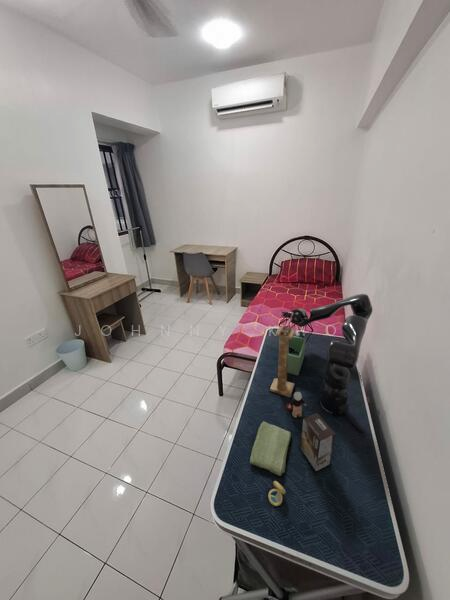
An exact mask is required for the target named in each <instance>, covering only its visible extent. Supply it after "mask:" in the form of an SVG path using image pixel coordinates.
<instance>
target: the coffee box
mask: <svg viewBox="0 0 450 600" xmlns="http://www.w3.org/2000/svg"><path fill="white" fill-rule="evenodd" d="M335 436H336V432H335V431H334V430H333V429H332V428H331V427H330V426H329V425H328V423H326V421H325V420H324V419H323V417H322V416H321V415H320V414H319V413H318V412H316V413H313V414H311V415H309V416H307V417H306V418H303V421H302V430H301V439H300V450H301V451H302V453H303V455H304V456H305V457H306V459H307V460H308V462H309V463H310V465H311V466H312V468H313V469H314V470H315V472H317V471H320V470H321V469H323V468H326V467H327V466H329V465H330V462H331V458H332V452H333V447H334V443H335Z"/></svg>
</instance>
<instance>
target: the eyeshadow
mask: <svg viewBox="0 0 450 600" xmlns="http://www.w3.org/2000/svg"><path fill="white" fill-rule="evenodd" d="M272 484H273V486H274V487H275V488H272V489H270V490H269V491H268V495H267V496H268V497H267V498H268V502H269V503H270V504H271V505H272V506H274V507H279V506H281V504H282V503H283V495H285V494H286V493H287V491H286V489H285V487H283V485H282V484H281V483H279V482H278V481H277V480H274V481H273V482H272Z"/></svg>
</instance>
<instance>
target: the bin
mask: <svg viewBox="0 0 450 600" xmlns="http://www.w3.org/2000/svg"><path fill="white" fill-rule="evenodd" d="M306 345H307V338H305V337H300V336H295V335H293V338H292V339H290V340H289V347H290V348H292V349H294V350H295V351H297V352H298V353H299V354H298V353H289V355H288V370H287V374H291V375H295V376H299V375H300V372H301V369H302V365H303V362H304V359H305V356H306V347H307V346H306Z"/></svg>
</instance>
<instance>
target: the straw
mask: <svg viewBox="0 0 450 600" xmlns="http://www.w3.org/2000/svg"><path fill="white" fill-rule="evenodd" d="M292 315H293V313H292ZM292 315H291V316H290V318H288V320H287V322H286V324H285V328H289V326H290V324H291V323H292V322H291V320H292Z"/></svg>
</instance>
